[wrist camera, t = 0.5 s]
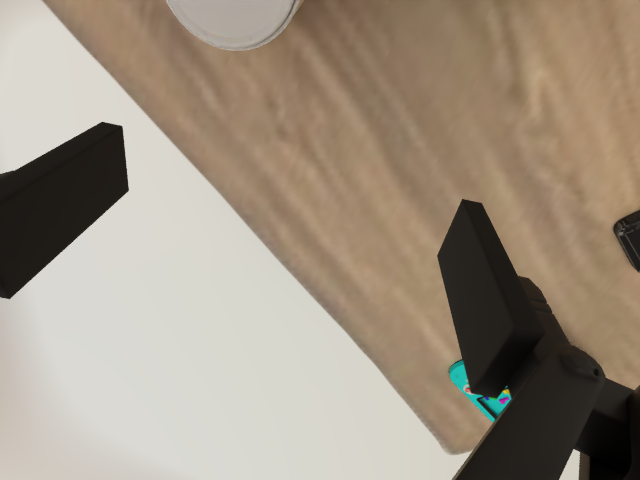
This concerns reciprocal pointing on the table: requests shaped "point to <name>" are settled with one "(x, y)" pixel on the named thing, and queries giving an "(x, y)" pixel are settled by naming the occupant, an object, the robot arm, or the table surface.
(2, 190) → the robot arm
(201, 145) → the table surface
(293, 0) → the tan lidded canister
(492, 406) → the handheld gaming console
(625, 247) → the phone
